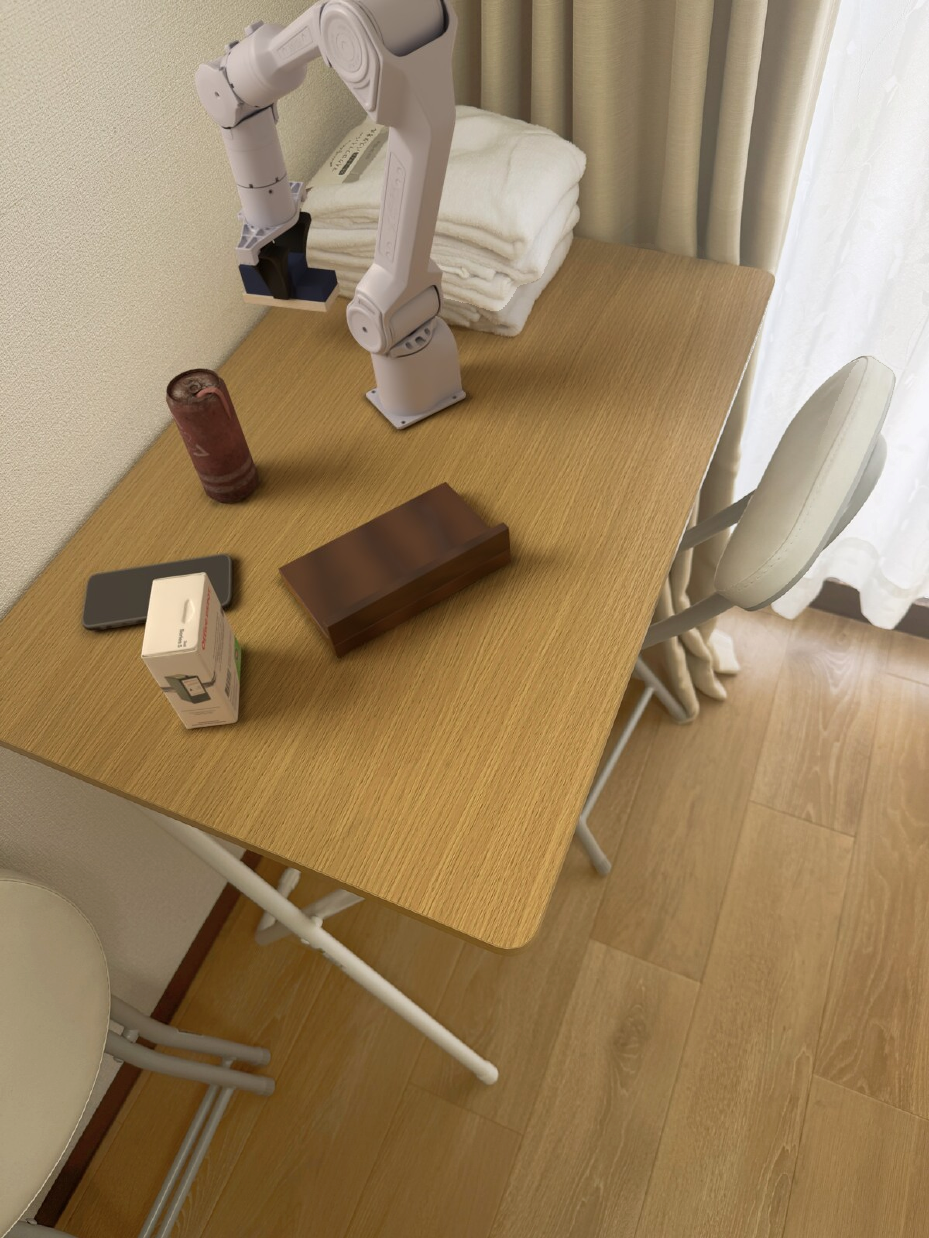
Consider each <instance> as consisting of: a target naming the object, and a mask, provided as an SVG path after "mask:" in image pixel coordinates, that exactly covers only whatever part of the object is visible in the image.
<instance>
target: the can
mask: <svg viewBox="0 0 929 1238" xmlns="http://www.w3.org/2000/svg"><path fill="white" fill-rule="evenodd" d="M165 393H166V394H165V395H166V396H165V402H166V404H167V406H168V408H169V411H170V413H171V416H172V418H173V420H174V423H175V425H176V427H177V430H178V432H179V434H180V436H181V439H182V441H183V444H184V445H185V448H186V450H187V453H188V455H189V457H190V460H191V462H192V464H193V466H194V469H195V471H196V475H198V478H199V481H200V483H201V485H202V487H203V489H204V492H205V494H206V496H207V497H209V498H210V499H211V500H213V501H215V502H219V503H221V504H231V503H237V502H240V501H243V500H245V499H246V498H248V497H249V496H251V494H252V493H254V491H255V489H256V487H257V484H258V482H259V473H258V470H257V467H256V465H255V462H254V459H253V456H252V453H251V451H250V447H249V446H248V441H247V439H246V437H245V435H244V431H243V429H242V426H241V423H240V421H239V418H238V415H237V413H236V409H235V406H234V403H233V401H232V400H233V399H232V398H231V396H230V395H231V394H230V393H229V390H228V387H227V384H226V382H225V380H224V379H223V378H222V377H220V376H219V374H218V373H217V372H215V371H214V370H213V369H209V368H200V367H199V368H192V369H188V370H186V371H183V372H181V373H179V374H176V375H175V376H174V377H173V378H172V379H171V380H170V381H169V382H168V383H167V386H166V391H165Z"/></svg>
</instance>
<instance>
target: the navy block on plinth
mask: <svg viewBox="0 0 929 1238" xmlns="http://www.w3.org/2000/svg"><path fill="white" fill-rule="evenodd" d="M237 267H238V270H239V271H238V272H239V274H240V277H241V280H242V284H243V287H244V291H243V292H242V294H241V296H242V299H243V301H244V303H245V304H252V305H262V306H269V307H279V308H286V309H293V310H302V311H310V312H311V311H313V312H320V313H328V311H329V310H330V309H331V306H332V305H333V303H334V302H335V301H336V299H337V297H338V296H339V294H340V293H341V288H340V283H339V282H338V277H337V273H336V269H327V268H318V267H309V264H308V261H307V255H306V256H305V254H304V253H293V252H289V256H288V275H289V281H290V287H291V297H290V299H289V300H281V299H274V298H273V296H272V295H271V293H270V291H269V289H268V288H267V286H266V284H265V283H264V281H263V280H262V278H261V277H260V275H259V274H258V273H257V272H256V271H255V269H254V268H253V267H252V266H251V265H245V264H240V263H239V265H238V266H237Z"/></svg>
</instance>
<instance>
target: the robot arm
mask: <svg viewBox="0 0 929 1238" xmlns="http://www.w3.org/2000/svg"><path fill="white" fill-rule="evenodd" d="M458 26H459V18H458V16H457V14H456V11H455V10H454V7H453V5H452V2H451V1H450V0H318V1H316V2H315V3H314V4H312V5H311V6H310V7H309V8H307V9H306V10H305V11H304V12H303V13H301V14H300V15H299V16H298V17H296V18H295V20H293V21H292V22H291V23H289V24H288V25H287V26H285V25H284V24H280V23H277V22H267V23H264V21H263V20H262V19H259V20H257V21H255V22H253V23H250V24H249V25H248V26H246V27H245V28H244V32H245V34H246V37H245V38H243V39H242V40H241V41H239V40H238V39H235V40H232V41H230V42H229V43H227V44H225V46H224V51H225V54H222V55H221V56H219V57H216V58H215V59H212V60H211V61H207V62H202V63H200V64H199V65H198V69H196V71H195V73H194V74H195V75H194V85H195V90H196V94H197V96H198V99H199V101H200V104H201V105H202V107H203V109H204V111H205V112H206V114H207V115H208V116H209V118H210V119H212V121H213V122H214V123H216V125H218V127H219V131H220V135H221V137H222V142H223V145H224V149H225V152H226V155H227V159H228V162H229V165H230V168H231V172H232V176H233V180H234V182H235V186H236V190H237V193H238V197H239V201H240V204H241V209H240V210H239V211H238V212H237V214H236V218H237V221H239V222H242V225H241V226H242V227H241V231H240V237H239V241H238V242H237V245H236V246H235V247H234V249H235V252H236V256H237V258H238V263H239V265H240V264H245V265H251V266H252V267H253V268H254V269H255V271H256V272H257V273H258V274H259V275H260V277H261V278H262V280H263V281H264V283H265V284H266V286H267V288H268V289H269V291H270V293H271V295H272V296H273V298H274V299H281V300H289V299H290V297H291V287H290V281H289V275H288V256H289V252H293V253H304V254H305V256H306V257H307V247H308V246H307V245H308V244H307V243H308V236H309V232H310V227H311V224H312V222H313V220H312V216H311V213H310V212H307V211H300V210H301V204H302V203H305V201H307V199H308V198H309V197H308V193H307V189H306V188H307V187H306V184H305V182H304V181H294V180H293V181H292V180H289V176H288V173H287V172H288V171H287V168H286V163H285V159H284V155H283V151H282V146H281V142H280V139H279V135H278V130H277V124H278V123H279V119H280V116H279V112H278V102H279V100H280V99H282V98H284V97H286V96H287V95H289V94H291V93H292V92H294V91H296V90H298V89H299V88H300V87H301V86H302V85H303V83H304V81H305V79H306V77H307V73H308V64H309V63H311V62H312V61H315V60H316V59H318V58H320V57H322V59H323V62H324V63H325V66H326V67H327V68H329V69H331V68H333V69H334V71H335V72H336V74H337V75H338V76H339V78H340V79H341V81H343V83H344V84H345V85H346V87H347V88H348V90H349V91H350V92H351V94H352V95H353V96H354V98H355V99H356V100H357V102H358V103H359V104H360V106H361V107H362V108H363V109H364V111H365V113H367V115H368V117H370V119H371V120H372V121H373V123H374V124H376V125H381V126H385V127H388V128H389V129H388V137H387V147H386V153H385V163H384V172H383V178H382V179H383V180H382V188H381V196H380V206H379V213H378V214H379V215H378V223H377V231H376V240H375V247H374V256H373V262H372V264H371V265H370V267H369V268H368V270H367V271H366V272H365V273H364V275H363V277H362V278H361V279H360V280H359V282H358V283H357V285H356V287H355V288H354V289H355V291H354V296H353V298H352V300H351V301H350V302H349V303H348V304H347V306H346V310H345V315H346V323H347V326H348V329H349V331H350V333H351V335H352V337H353V338H354V339H355V341H356V342H357V343H358V344H359V346H360V347H362V348H363V349H364V350H366V351H368V352H369V353H370V358H371V362H372V367H373V373H374V378H375V383H376V387H374V388H373V389H371V390H369V391H367V392H366V393H365V396H366V398H367V399H368V401H370V403H372V404H373V406H374V407H375V408H376V409H377V410H378V411H379V412H380V413H381V414H382V415H383V416H384V417H385V418H386V419H387V420H388V421H389V422H390V423H391V424H392V426H393V427H395V429H396V430H403V429H405V428H407V427H409V426H411V425H413V424H415V423H417V422H419V421H421V420H424V419H425V418H427V417H429V416H431V415H433V414H436V413H438V412H439V411H441V410H443V409H445V408H447V407H450V406H452V405H453V404H456V403H457V402H459V401H462V400H464V399H465V398H466V397H467V394H466V392H465V390H463V385H462V375H461V365H460V356H459V348H458V345H457V341H456V338H455V336H454V334H453V332H452V330H451V329H450V327H449V325H448V324H447V323H446V322H445V320H443V318H441V317H440V316H438V315H440V313H441V312H442V311H443V309H444V305H445V298H444V292H443V286H442V279H443V275H444V272H443V271H442V269H441V268H440V266H439V265H438V264H437V262H436V261H434V260H433V258H432V257H431V253H432V248H433V242H434V237H435V232H436V226H437V223H438V222H437V221H438V215H439V212H440V211H439V210H440V206H441V201H442V195H443V190H444V186H445V179H446V174H447V170H448V169H447V168H448V163H449V158H450V153H451V149H452V142H453V137H454V132H455V127H456V120H457V119H456V117H457V109H456V108H457V107H456V99H455V90H454V89H455V88H454V87H455V86H454V79H453V67H452V60H453V59H452V58H453V53H454V46H455V42H456V36H457V30H458Z"/></svg>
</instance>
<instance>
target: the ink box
mask: <svg viewBox="0 0 929 1238" xmlns="http://www.w3.org/2000/svg"><path fill="white" fill-rule="evenodd" d="M144 628H145V629H144V635H143V641H142V648H141V654H140V658H141V659H142V661H143V662H144V664H145V666H146V667H147V669H148V671H149V672H150V673H151V675H152V677H153V679H154V680H155V681H156V683H157V684H158V686H159V687H160V689H161V691H162V693H163V694H164V695H165V697H166V698H167V701H169V703H170V705H171V706H172V708H173V710H174V711H175V713H176V715H177V716H178V717H179V719H180V721H181V722H182V724H183V725H184V726H185V728H186V729H187V730H191V729H197V728H204V727H213V726H221V725H230V724H235V723H237V721H238V720H239V708H240V707H239V706H240V688H241V687H240V686H241V669H242V651H243V650H242V647H241V644H240V643H239V641H238V638H237V637H236V635H235V632H234V630H233V627H232V626H231V623H230V621H229V619H228V617H227V614H226V613H225V611H224V610H223V608H222V606H221V604H220V602H219V600H218V598H217V595H216V593H215V591H214V589H213V587H212V585H211V583H210V580H209V578H208V576H207V574H206V573H196V574H189V575H181V576H173V577H167V578H160V579H155V580H153V584H152V590H151V596H150V603H149V609H148V616H147V622H145V627H144Z"/></svg>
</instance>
